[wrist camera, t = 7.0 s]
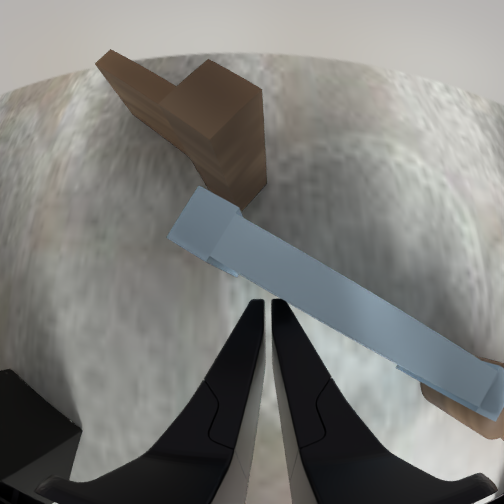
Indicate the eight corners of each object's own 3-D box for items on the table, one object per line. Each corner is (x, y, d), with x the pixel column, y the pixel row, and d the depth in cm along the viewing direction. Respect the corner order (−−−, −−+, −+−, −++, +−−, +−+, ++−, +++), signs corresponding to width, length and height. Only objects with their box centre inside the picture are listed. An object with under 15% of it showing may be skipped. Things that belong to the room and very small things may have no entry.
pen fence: (506, 466, 14) (567, 507, 5) (112, 135, 19) (41, 59, 10) (581, 332, 15) (648, 334, 6) (243, 20, 20) (231, -69, 11)
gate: (427, 349, 16) (518, 378, 8) (412, 376, 16) (495, 421, 7) (232, 235, 17) (198, 185, 9) (215, 264, 17) (166, 237, 9)
